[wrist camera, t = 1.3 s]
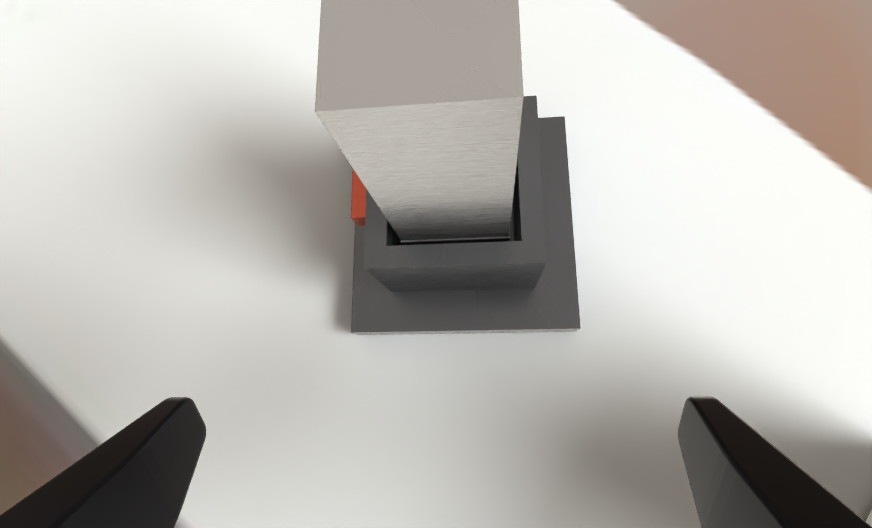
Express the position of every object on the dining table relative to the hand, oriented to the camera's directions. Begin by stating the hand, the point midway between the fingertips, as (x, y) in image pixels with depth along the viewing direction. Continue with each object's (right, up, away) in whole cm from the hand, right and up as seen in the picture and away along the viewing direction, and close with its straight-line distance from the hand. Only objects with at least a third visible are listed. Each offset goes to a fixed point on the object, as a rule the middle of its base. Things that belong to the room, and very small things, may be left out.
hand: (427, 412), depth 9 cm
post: (+1, +5, +13) cm, 14 cm away
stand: (+1, +4, +15) cm, 15 cm away
